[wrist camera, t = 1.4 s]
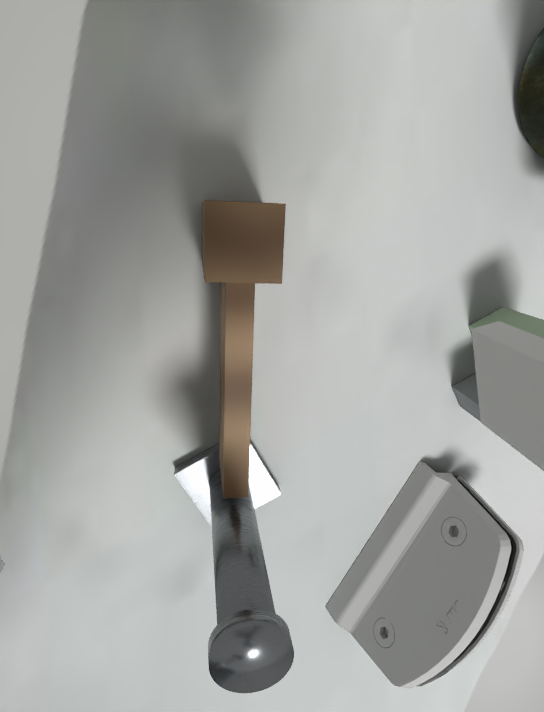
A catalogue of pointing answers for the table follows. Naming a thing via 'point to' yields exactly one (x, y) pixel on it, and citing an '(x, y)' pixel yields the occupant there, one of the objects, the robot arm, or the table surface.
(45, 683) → the table surface
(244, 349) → the wooden mallet
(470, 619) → the grey arched slab
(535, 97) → the dark green cylindrical container
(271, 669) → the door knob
